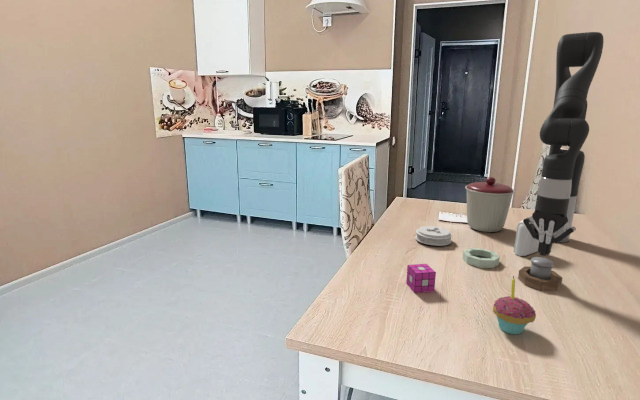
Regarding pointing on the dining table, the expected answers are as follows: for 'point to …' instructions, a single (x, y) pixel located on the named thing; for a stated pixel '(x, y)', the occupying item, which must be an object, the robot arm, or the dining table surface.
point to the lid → (433, 235)
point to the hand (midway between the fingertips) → (543, 254)
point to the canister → (488, 205)
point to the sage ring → (481, 257)
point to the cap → (541, 268)
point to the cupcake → (513, 312)
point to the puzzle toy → (420, 278)
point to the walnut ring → (540, 280)
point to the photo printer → (525, 241)
